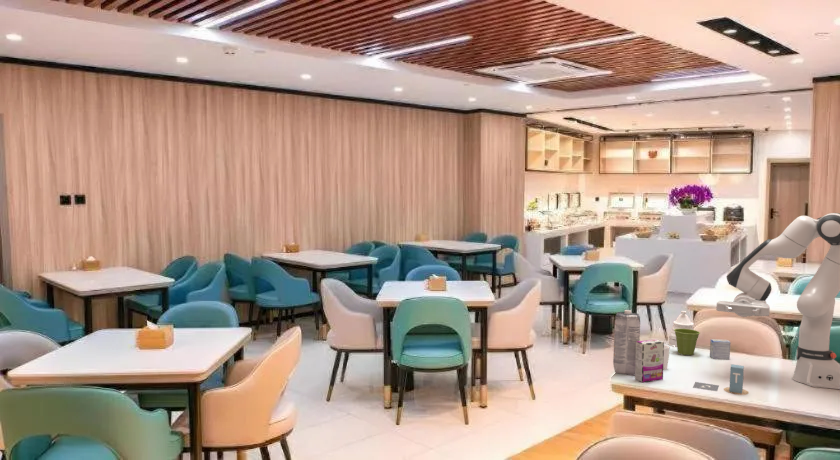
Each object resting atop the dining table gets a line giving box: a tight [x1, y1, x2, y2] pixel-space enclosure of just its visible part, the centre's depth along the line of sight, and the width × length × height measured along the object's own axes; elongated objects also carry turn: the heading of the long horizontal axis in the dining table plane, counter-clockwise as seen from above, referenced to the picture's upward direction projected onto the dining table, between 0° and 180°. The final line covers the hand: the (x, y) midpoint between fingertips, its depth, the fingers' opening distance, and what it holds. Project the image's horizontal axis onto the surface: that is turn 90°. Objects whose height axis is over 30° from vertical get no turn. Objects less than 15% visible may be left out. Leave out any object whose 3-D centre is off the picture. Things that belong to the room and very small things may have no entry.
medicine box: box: [709, 338, 732, 360], centre depth 311 cm, size 8×4×9 cm, turn 84°
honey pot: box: [668, 310, 697, 348], centre depth 335 cm, size 13×13×18 cm
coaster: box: [723, 386, 750, 396], centre depth 259 cm, size 9×9×1 cm
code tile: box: [692, 381, 720, 392], centre depth 264 cm, size 9×9×1 cm
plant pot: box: [674, 329, 701, 356], centre depth 318 cm, size 12×12×11 cm
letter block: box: [729, 364, 745, 394], centre depth 258 cm, size 4×5×10 cm
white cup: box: [663, 344, 670, 371], centre depth 291 cm, size 8×8×10 cm
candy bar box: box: [634, 339, 665, 383], centre depth 273 cm, size 11×5×16 cm, turn 112°
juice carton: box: [612, 309, 641, 376], centre depth 283 cm, size 9×10×27 cm
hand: (741, 311), depth 270 cm, fingers open, 8 cm apart
